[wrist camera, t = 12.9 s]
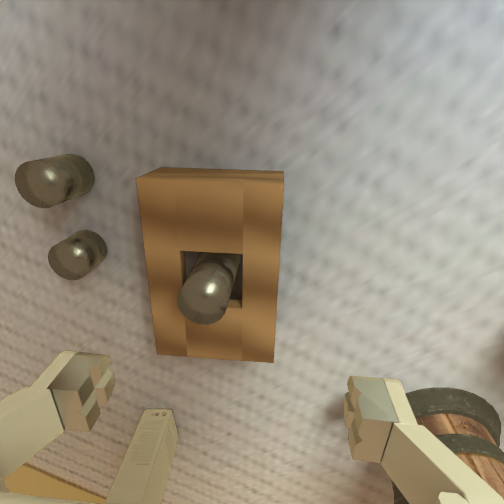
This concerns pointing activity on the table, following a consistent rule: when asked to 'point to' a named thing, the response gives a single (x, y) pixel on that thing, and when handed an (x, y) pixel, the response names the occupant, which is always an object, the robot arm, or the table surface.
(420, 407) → the tankard
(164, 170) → the walnut bridge
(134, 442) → the skincare box
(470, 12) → the table surface
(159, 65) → the table surface
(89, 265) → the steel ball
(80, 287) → the table surface
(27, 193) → the medium steel pin
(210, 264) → the tall steel pin
